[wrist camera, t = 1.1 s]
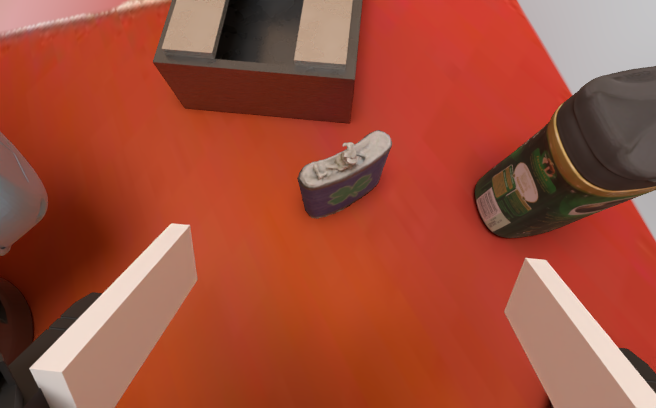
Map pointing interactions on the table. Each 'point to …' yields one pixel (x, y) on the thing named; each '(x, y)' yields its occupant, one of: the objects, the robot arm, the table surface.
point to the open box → (263, 56)
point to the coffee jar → (577, 159)
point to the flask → (344, 175)
